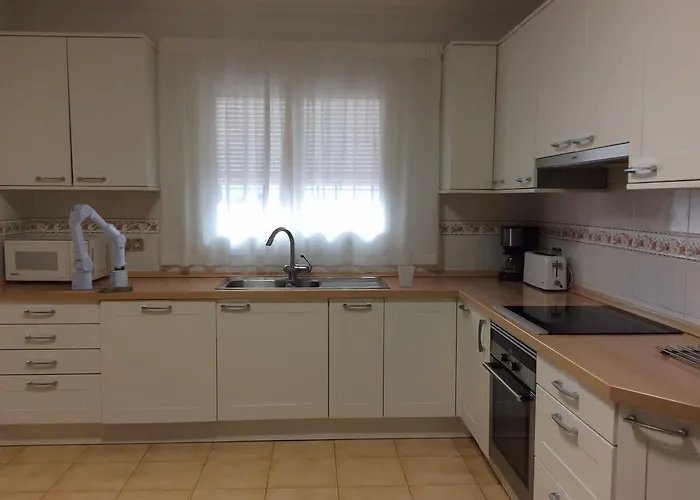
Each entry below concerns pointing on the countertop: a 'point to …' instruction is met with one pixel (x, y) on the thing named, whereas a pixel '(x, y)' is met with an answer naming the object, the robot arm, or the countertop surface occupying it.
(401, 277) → the cup
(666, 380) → the countertop surface
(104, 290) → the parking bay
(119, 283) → the medicine box
